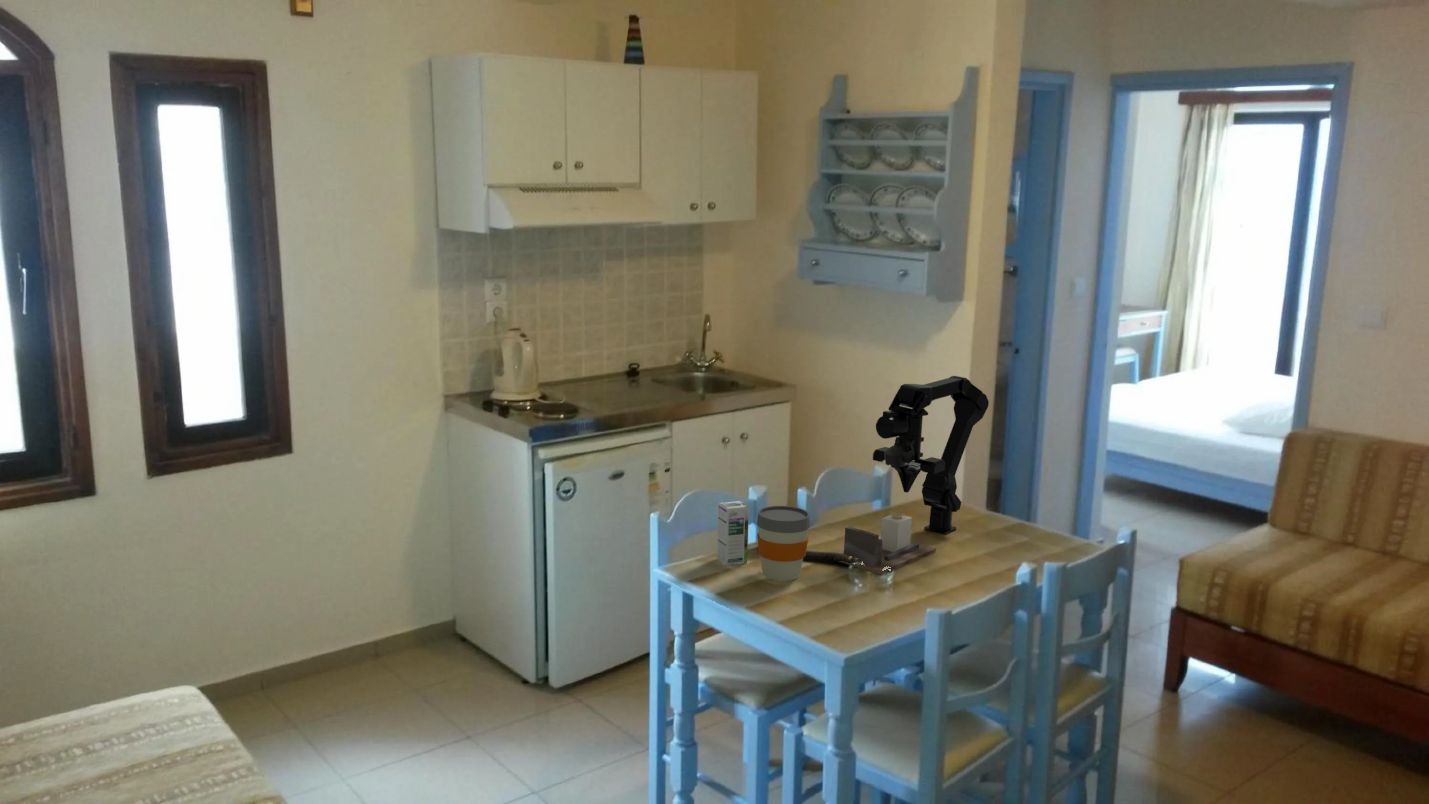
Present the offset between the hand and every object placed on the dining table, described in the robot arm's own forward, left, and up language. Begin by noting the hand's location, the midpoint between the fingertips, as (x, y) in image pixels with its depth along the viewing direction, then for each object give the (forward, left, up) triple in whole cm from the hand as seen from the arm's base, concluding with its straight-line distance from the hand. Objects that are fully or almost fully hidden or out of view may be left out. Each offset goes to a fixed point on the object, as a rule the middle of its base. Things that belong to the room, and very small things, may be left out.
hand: (906, 492), depth 283 cm
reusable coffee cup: (+43, -6, -13) cm, 45 cm away
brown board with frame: (+14, +4, -13) cm, 20 cm away
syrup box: (+45, -20, -13) cm, 51 cm away
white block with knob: (+10, +4, -12) cm, 16 cm away
